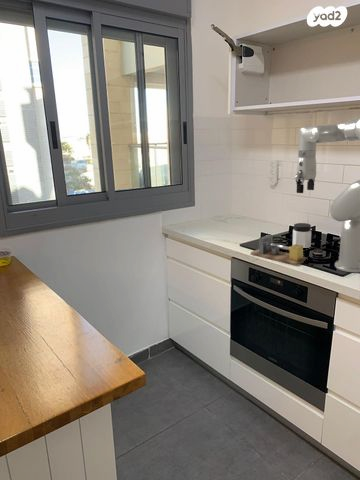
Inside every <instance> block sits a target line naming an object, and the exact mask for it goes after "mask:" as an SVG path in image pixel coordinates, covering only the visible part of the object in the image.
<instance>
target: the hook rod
mask: <svg viewBox="0 0 360 480" xmlns="http://www.w3.org/2000/svg"><path fill="white" fill-rule="evenodd" d="M270 246H271V247H273V248H274V247H276V248H279V249H281V250H285V251H289V252H288V253H289V259H291V260H295V261H298V260H300V259H302V258H303V257H304V250H303V246H302V245H297V244H295V245H291V246H287V245H282V244H277V243H274V242H273V243H271V244H270Z"/></svg>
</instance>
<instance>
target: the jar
mask: <svg viewBox="0 0 360 480" xmlns="http://www.w3.org/2000/svg"><path fill="white" fill-rule="evenodd" d="M311 226H312V225H311V224H310V223H305V222H298V223H294V224H293V229H292V245H295V244H297V245H302V246H303V248H309V247H311V245H312V244H311V243H312V227H311ZM292 245H291V246H292ZM311 248H312V247H311ZM309 249H310V248H309Z"/></svg>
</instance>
